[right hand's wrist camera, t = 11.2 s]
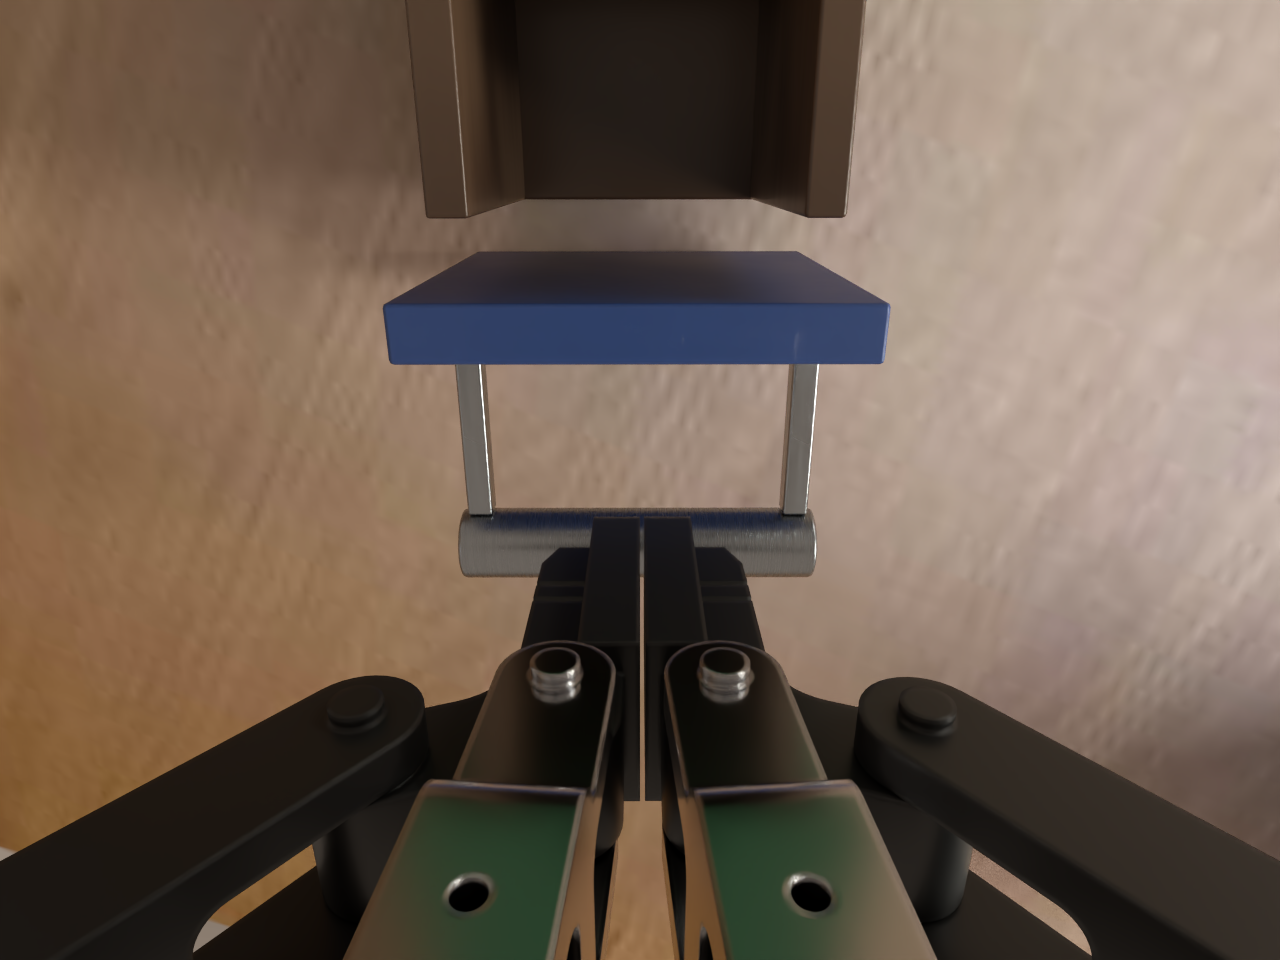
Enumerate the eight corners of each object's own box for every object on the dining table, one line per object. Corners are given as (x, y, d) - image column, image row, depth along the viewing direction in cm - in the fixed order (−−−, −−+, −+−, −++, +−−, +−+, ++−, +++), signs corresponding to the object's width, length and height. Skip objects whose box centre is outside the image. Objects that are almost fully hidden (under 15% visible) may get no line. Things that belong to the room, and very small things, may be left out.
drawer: (783, 474, 27) (854, 630, 18) (493, 475, 27) (420, 630, 18) (858, -570, 17) (1082, -1320, 9) (414, -568, 17) (182, -1320, 9)
